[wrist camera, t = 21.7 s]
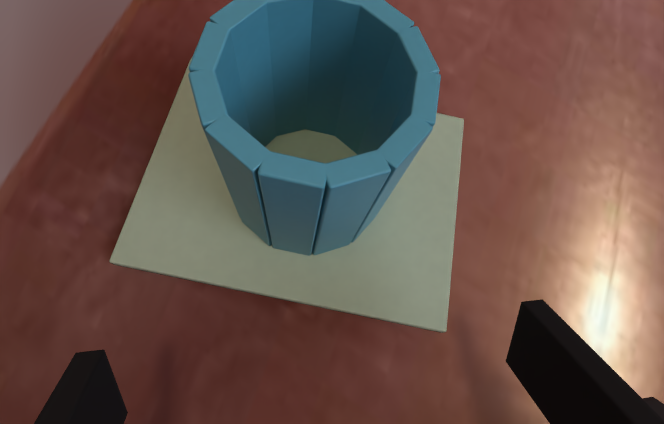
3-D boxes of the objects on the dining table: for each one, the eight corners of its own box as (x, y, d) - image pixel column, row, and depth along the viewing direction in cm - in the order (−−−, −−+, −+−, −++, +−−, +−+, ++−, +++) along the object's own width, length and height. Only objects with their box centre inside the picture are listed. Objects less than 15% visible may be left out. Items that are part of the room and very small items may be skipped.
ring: (213, 235, 18) (152, 151, 10) (255, 105, 21) (231, -43, 13) (367, 268, 18) (425, 210, 10) (389, 135, 21) (449, 7, 13)
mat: (113, 264, 18) (107, 262, 17) (193, 64, 22) (190, 57, 21) (442, 332, 18) (446, 332, 18) (460, 124, 22) (464, 118, 22)
